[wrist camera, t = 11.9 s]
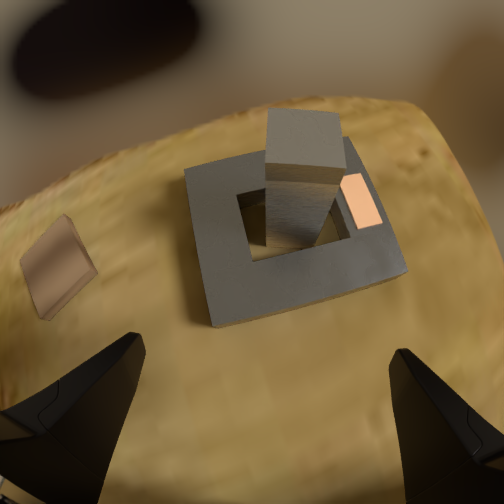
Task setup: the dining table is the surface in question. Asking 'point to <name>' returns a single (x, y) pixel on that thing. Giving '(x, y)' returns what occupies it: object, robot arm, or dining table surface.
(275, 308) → the flange plate
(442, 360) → the dining table surface
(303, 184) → the grey square peg
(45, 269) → the pad
